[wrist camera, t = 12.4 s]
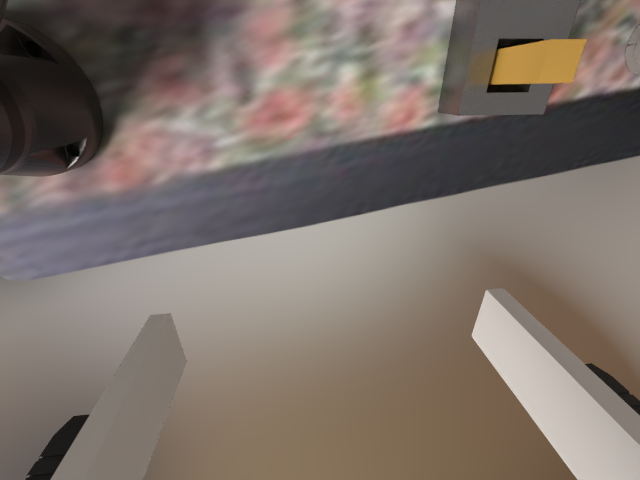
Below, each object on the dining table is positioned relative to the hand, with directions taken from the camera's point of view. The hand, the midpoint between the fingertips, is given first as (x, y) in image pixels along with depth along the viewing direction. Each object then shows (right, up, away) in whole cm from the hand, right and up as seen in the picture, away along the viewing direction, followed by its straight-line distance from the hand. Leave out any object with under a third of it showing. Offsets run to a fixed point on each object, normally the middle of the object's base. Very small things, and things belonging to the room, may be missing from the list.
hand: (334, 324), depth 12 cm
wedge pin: (+19, +24, +22) cm, 38 cm away
